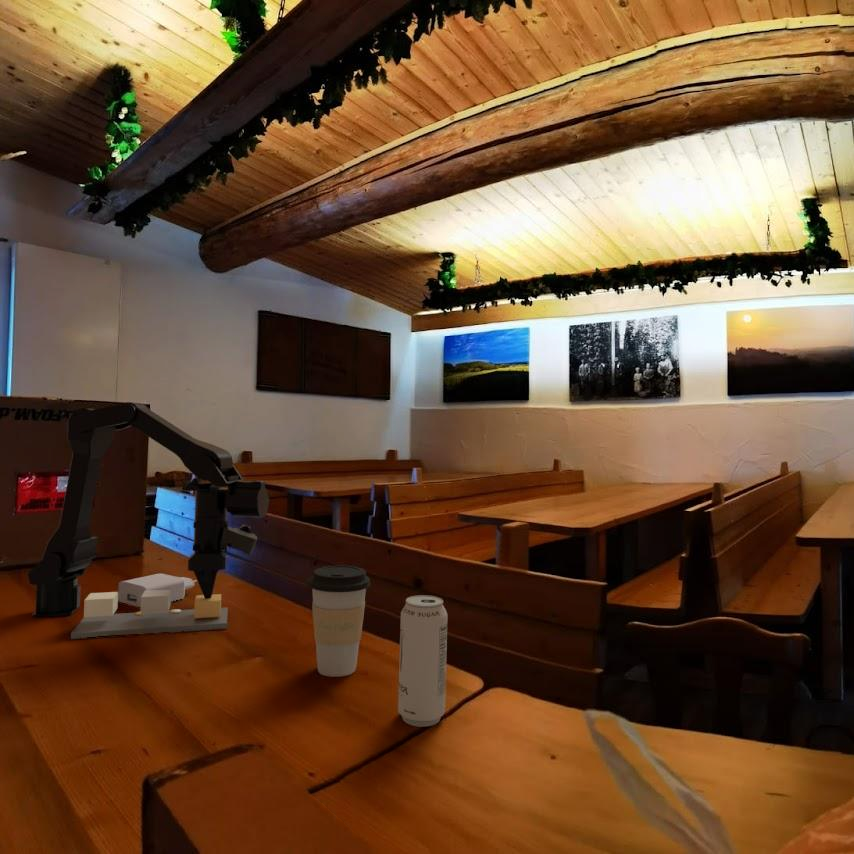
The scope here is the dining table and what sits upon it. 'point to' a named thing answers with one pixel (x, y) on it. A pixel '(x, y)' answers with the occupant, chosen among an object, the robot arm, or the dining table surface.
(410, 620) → the energy drink can
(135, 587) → the charger
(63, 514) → the robot arm
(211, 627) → the keypad base
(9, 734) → the dining table surface
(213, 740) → the dining table surface
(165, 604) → the key grey
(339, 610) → the coffee cup
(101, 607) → the key cream
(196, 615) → the key amber
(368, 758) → the dining table surface
